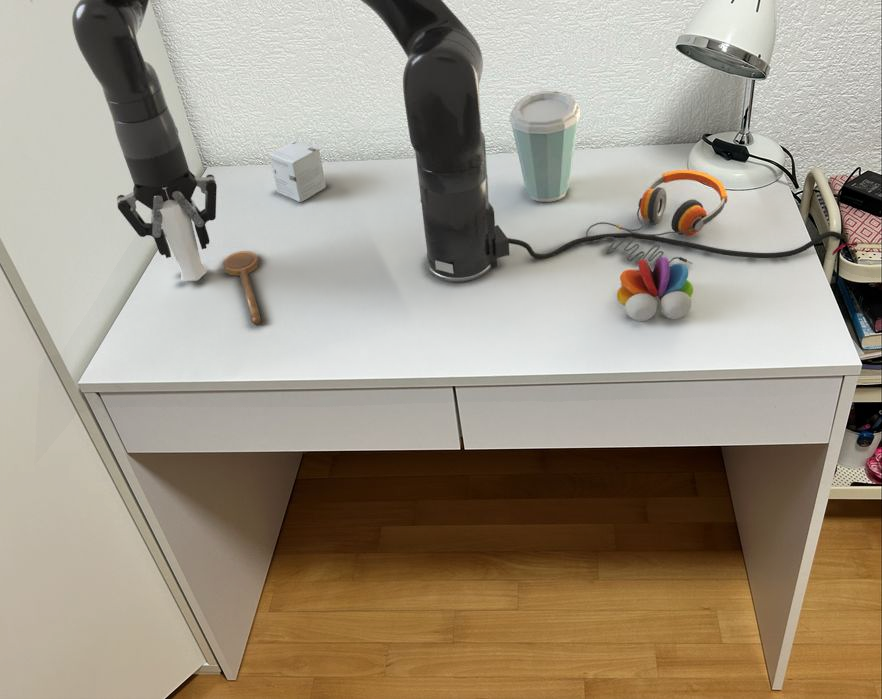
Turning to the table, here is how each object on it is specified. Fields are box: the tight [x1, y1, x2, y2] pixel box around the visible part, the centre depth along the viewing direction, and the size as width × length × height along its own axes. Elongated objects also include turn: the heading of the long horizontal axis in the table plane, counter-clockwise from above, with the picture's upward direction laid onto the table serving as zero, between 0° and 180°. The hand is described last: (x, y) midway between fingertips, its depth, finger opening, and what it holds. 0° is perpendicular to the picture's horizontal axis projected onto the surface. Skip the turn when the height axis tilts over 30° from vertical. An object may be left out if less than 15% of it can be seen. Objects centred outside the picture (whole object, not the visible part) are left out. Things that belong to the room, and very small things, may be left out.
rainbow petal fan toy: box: [616, 256, 694, 322], centre depth 112 cm, size 8×10×7 cm
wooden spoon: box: [222, 250, 262, 325], centre depth 125 cm, size 18×5×1 cm, turn 18°
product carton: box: [268, 139, 327, 203], centre depth 143 cm, size 6×6×7 cm
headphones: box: [585, 169, 728, 267], centre depth 126 cm, size 17×5×20 cm
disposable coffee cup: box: [508, 90, 582, 203], centre depth 134 cm, size 11×11×15 cm
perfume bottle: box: [157, 187, 208, 282], centre depth 123 cm, size 5×4×15 cm
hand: (186, 249), depth 126 cm, fingers closed on perfume bottle, 4 cm apart
